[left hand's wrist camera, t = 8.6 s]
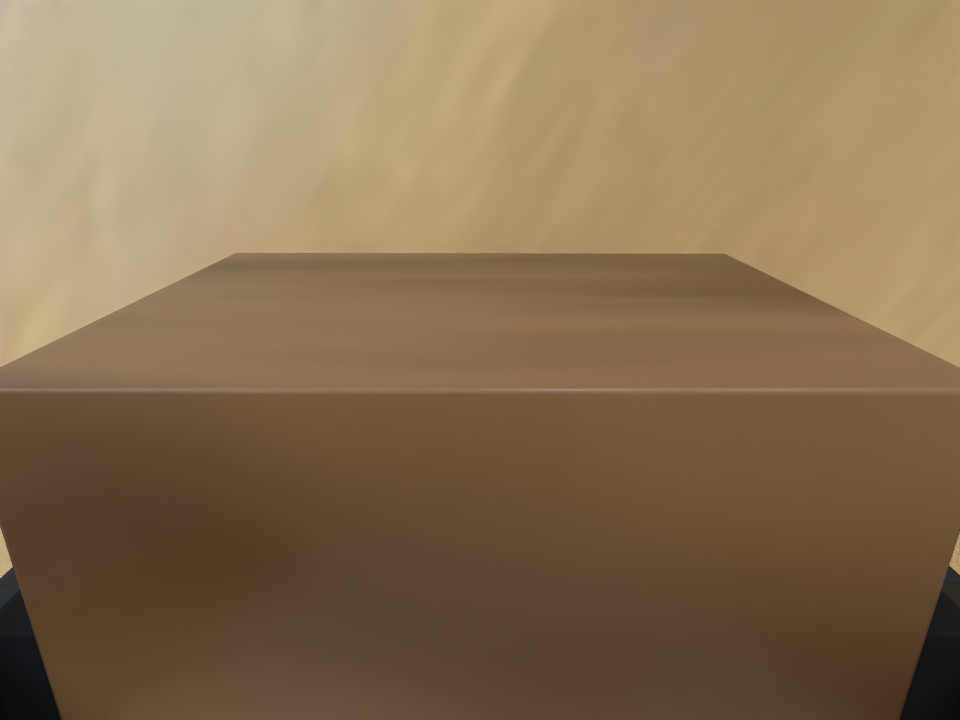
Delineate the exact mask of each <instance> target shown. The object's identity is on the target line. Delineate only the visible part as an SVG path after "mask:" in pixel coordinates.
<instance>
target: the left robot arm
mask: <svg viewBox="0 0 960 720" xmlns="http://www.w3.org/2000/svg"><path fill="white" fill-rule="evenodd" d="M0 720H61V718H60V715H59V712H58V708H57V705H56V702H55V699H54V696H53V692H52V689H51V686H50V683H49V680H48V676H47V673H46V670H45V667H44V664H43V661H42V657H41V654H40V651H39V648H38V645H37V641H36V638H35V635H34V632H33V629H32V626H31V622H30V619H29V616H28V613H27V610H26V606H25V603H24V600H23V597H22V594H21V590H20V587H19V584H18V581H17V578H16V575H15V571H14V568H13V567H12V568H11V569H10V570H9V571H8V572H7V573H6V574H5V575H4V576H3V577H1V578H0ZM900 720H960V575H959V574H958V573H957V572H956V571H955V570H953V569H952V568H951V567H950V566H948V570H947V573H946V576H945V579H944V582H943V585H942V588H941V592H940V595H939V598H938V601H937V604H936V607H935V610H934V613H933V617H932V620H931V623H930V626H929V629H928V632H927V635H926V639H925V642H924V645H923V648H922V651H921V654H920V657H919V660H918V664H917V667H916V670H915V673H914V676H913V679H912V682H911V686H910V689H909V692H908V695H907V698H906V701H905V704H904V707H903V711H902V714H901V717H900Z"/></svg>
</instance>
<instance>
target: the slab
mask: <svg viewBox="0 0 960 720" xmlns="http://www.w3.org/2000/svg"><path fill="white" fill-rule="evenodd" d="M0 527H1V530H2V533H3V536H4V539H5V543H6V546H7V549H8V552H9V555H10V559H11V562H12V565H13V568H14V571H15V575H16V578H17V581H18V584H19V587H20V590H21V594H22V597H23V600H24V603H25V606H26V610H27V613H28V616H29V619H30V622H31V626H32V629H33V632H34V635H35V638H36V641H37V645H38V648H39V651H40V654H41V657H42V661H43V664H44V667H45V670H46V673H47V676H48V680H49V683H50V686H51V689H52V692H53V696H54V699H55V702H56V705H57V708H58V712H59V715H60V718H61V720H900V717H901V714H902V711H903V707H904V704H905V701H906V698H907V695H908V692H909V689H910V686H911V682H912V679H913V676H914V673H915V670H916V667H917V664H918V660H919V657H920V654H921V651H922V648H923V645H924V642H925V639H926V635H927V632H928V629H929V626H930V623H931V620H932V617H933V613H934V610H935V607H936V604H937V601H938V598H939V595H940V592H941V588H942V585H943V582H944V579H945V576H946V573H947V570H948V566H949V563H950V560H951V557H952V554H953V551H954V548H955V545H956V541H957V538H958V535H959V532H960V368H959V367H957V366H955V365H953V364H951V363H949V362H947V361H944V360H942V359H940V358H938V357H936V356H934V355H932V354H930V353H928V352H926V351H924V350H922V349H920V348H918V347H916V346H914V345H912V344H909V343H907V342H905V341H903V340H901V339H899V338H897V337H895V336H893V335H891V334H889V333H887V332H885V331H883V330H881V329H879V328H876V327H874V326H872V325H870V324H868V323H866V322H864V321H862V320H860V319H858V318H856V317H854V316H852V315H850V314H848V313H846V312H843V311H841V310H839V309H837V308H835V307H833V306H831V305H829V304H827V303H825V302H823V301H821V300H819V299H817V298H815V297H813V296H811V295H808V294H806V293H804V292H802V291H800V290H798V289H796V288H794V287H792V286H790V285H788V284H786V283H784V282H782V281H780V280H778V279H775V278H773V277H771V276H769V275H767V274H765V273H763V272H761V271H759V270H757V269H755V268H753V267H751V266H749V265H747V264H745V263H742V262H740V261H738V260H736V259H734V258H732V257H730V256H728V255H726V254H471V253H235V254H233V255H231V256H229V257H227V258H225V259H223V260H221V261H219V262H217V263H214V264H212V265H210V266H208V267H206V268H204V269H202V270H200V271H198V272H196V273H194V274H192V275H190V276H188V277H186V278H184V279H182V280H179V281H177V282H175V283H173V284H171V285H169V286H167V287H165V288H163V289H161V290H159V291H157V292H155V293H153V294H151V295H149V296H147V297H144V298H142V299H140V300H138V301H136V302H134V303H132V304H130V305H128V306H126V307H124V308H122V309H120V310H118V311H116V312H114V313H111V314H109V315H107V316H105V317H103V318H101V319H99V320H97V321H95V322H93V323H91V324H89V325H87V326H85V327H83V328H81V329H79V330H76V331H74V332H72V333H70V334H68V335H66V336H64V337H62V338H60V339H58V340H56V341H54V342H52V343H50V344H48V345H46V346H44V347H41V348H39V349H37V350H35V351H33V352H31V353H29V354H27V355H25V356H23V357H21V358H19V359H17V360H15V361H13V362H11V363H9V364H6V365H4V366H2V367H0Z"/></svg>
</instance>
